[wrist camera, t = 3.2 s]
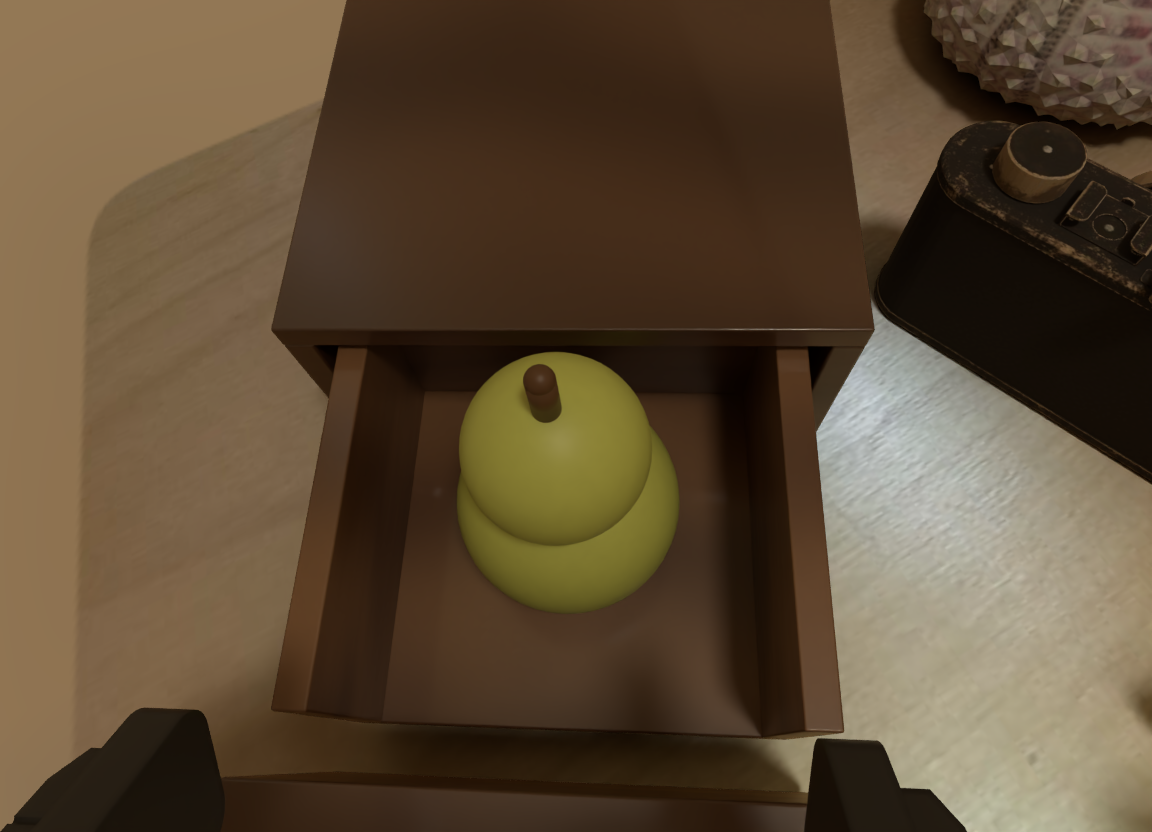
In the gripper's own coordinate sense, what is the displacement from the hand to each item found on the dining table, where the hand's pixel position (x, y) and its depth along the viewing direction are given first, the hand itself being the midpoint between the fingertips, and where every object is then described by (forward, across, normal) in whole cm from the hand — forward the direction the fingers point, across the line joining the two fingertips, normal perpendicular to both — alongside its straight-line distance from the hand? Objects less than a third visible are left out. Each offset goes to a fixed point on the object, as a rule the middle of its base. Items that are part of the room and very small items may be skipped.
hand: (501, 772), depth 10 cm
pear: (+13, 0, +4) cm, 13 cm away
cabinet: (+22, 0, -2) cm, 22 cm away
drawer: (+11, 0, +7) cm, 13 cm away
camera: (+19, -18, +1) cm, 26 cm away
